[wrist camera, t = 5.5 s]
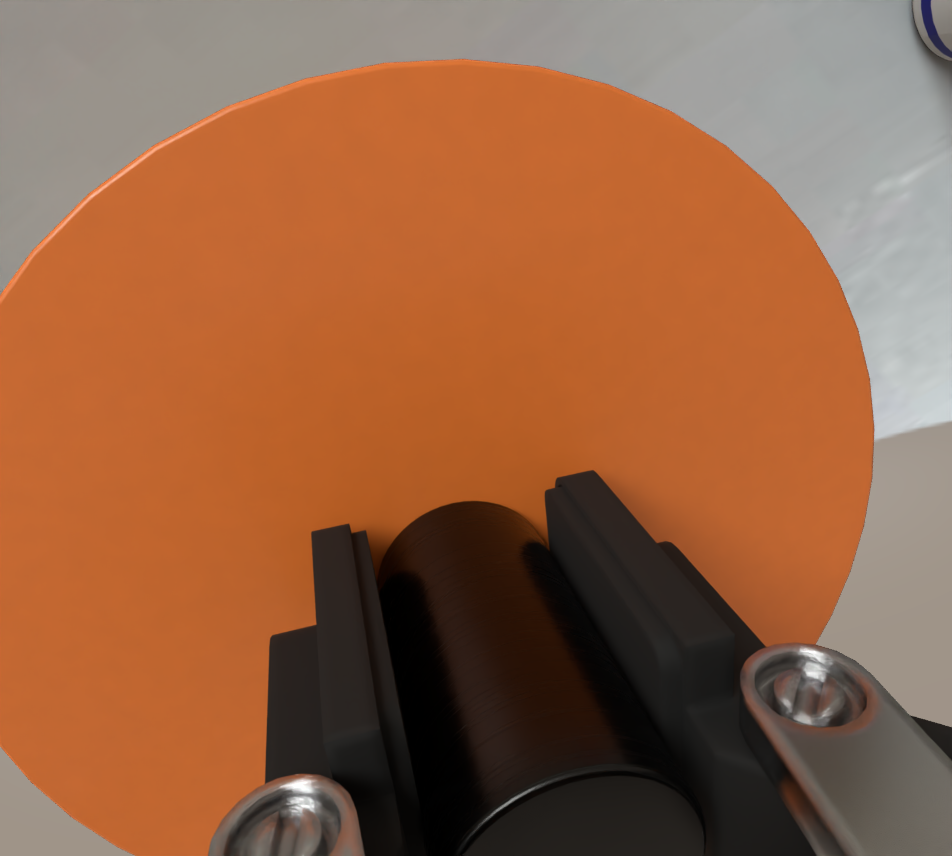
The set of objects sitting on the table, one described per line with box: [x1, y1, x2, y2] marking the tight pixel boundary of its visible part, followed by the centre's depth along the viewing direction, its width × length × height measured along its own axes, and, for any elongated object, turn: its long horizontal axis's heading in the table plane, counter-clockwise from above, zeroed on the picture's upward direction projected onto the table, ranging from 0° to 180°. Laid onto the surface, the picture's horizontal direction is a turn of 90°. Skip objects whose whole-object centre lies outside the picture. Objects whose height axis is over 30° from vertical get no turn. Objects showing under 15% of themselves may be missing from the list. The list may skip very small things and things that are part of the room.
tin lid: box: [0, 59, 874, 856], centre depth 10 cm, size 14×14×6 cm
